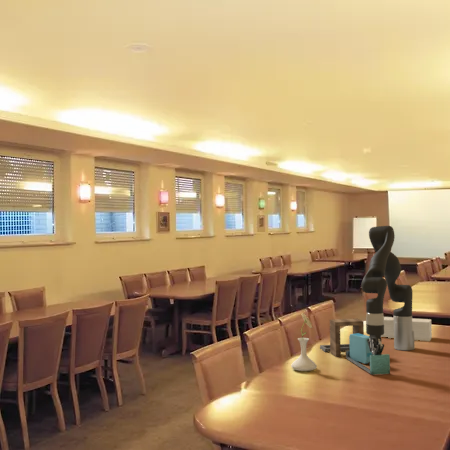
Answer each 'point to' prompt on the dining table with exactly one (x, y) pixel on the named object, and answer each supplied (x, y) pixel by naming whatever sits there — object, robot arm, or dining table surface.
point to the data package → (359, 348)
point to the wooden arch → (335, 332)
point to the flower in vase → (304, 352)
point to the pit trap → (343, 346)
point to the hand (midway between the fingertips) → (375, 363)
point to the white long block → (418, 326)
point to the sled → (374, 363)
